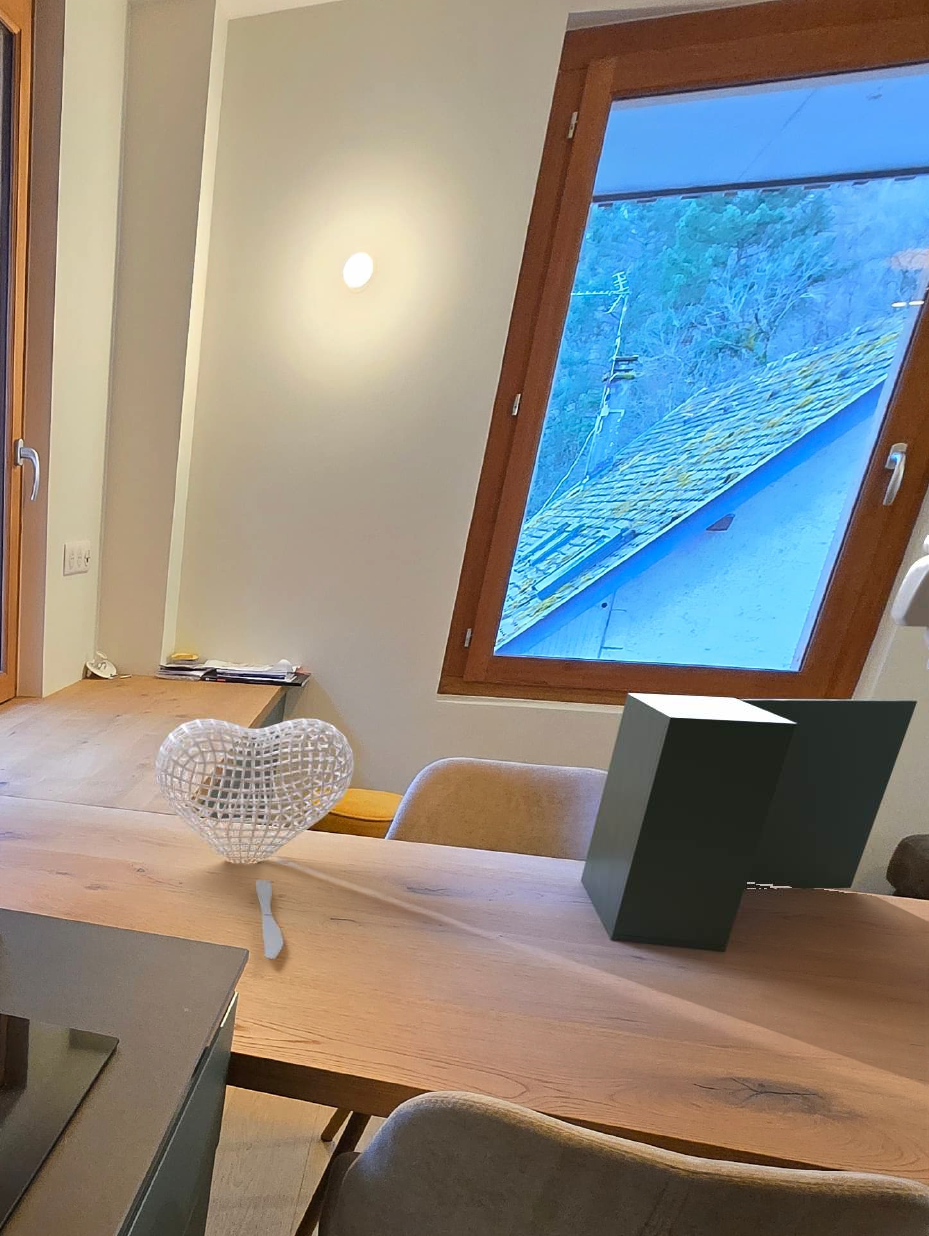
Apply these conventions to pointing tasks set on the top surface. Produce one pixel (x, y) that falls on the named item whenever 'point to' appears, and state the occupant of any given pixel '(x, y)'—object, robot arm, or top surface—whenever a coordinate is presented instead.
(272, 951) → the butter knife
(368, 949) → the top surface
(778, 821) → the cupboard door
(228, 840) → the heart
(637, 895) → the cupboard
